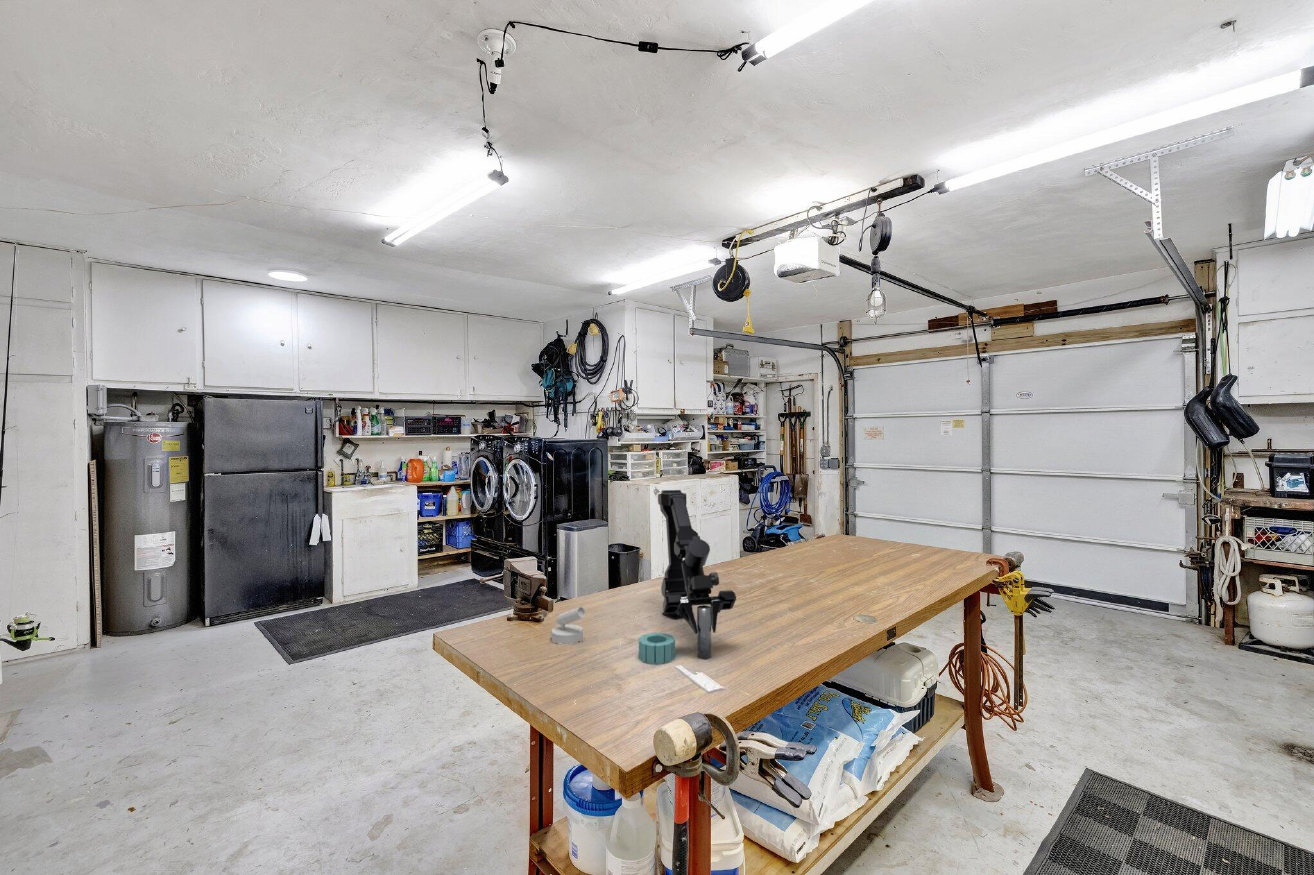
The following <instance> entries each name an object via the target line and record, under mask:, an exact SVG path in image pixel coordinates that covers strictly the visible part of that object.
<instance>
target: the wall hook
mask: <svg viewBox="0 0 1314 875" xmlns="http://www.w3.org/2000/svg"><path fill="white" fill-rule="evenodd" d="M585 617H586V610H585V608H584V607H583V606H578V607H576V608H574V609H570V610H568V611H565V612H562V613H561V614H558V615H557V618H556V622H557V624H558V625H557V626H554V627H553V628H552V629H551V642H552V641H554V642H555V643H554V642H553V643H554V644H556V643H562V644H568V645H571V644H570V643H574V644H577V643H579V642H578V641H580V642H581V641H582V640H583V639H584V628H583V626H581V625H578V624H570V623H574V622H575V621H579V620H581V619H584V618H585ZM562 644H561V645H562Z"/></svg>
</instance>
